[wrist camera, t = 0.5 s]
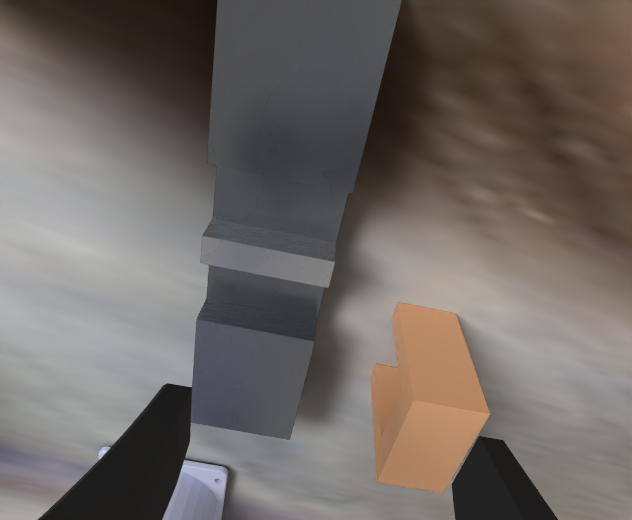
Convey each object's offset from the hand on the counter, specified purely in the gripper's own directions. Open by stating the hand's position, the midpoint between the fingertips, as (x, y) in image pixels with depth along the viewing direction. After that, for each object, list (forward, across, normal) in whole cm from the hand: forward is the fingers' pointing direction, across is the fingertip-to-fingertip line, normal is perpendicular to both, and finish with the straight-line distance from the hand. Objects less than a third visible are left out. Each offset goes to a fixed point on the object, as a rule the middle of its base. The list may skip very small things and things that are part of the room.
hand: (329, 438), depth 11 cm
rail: (+10, +3, 0) cm, 10 cm away
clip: (+10, -5, +5) cm, 12 cm away
